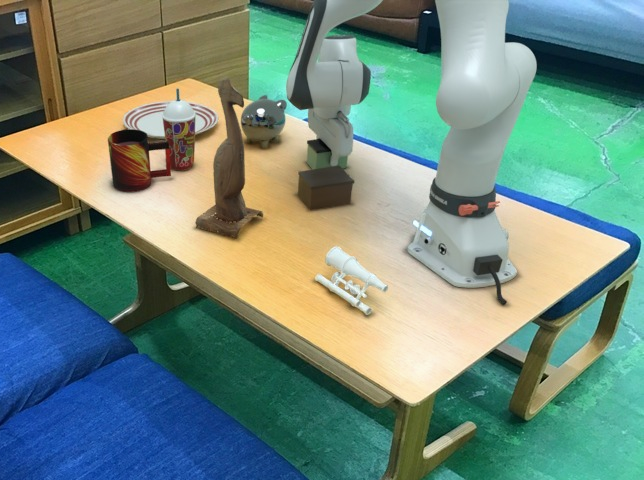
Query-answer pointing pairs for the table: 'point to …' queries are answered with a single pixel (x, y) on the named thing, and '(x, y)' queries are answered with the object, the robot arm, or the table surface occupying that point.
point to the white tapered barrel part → (352, 268)
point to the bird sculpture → (228, 173)
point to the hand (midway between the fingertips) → (327, 158)
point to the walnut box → (325, 187)
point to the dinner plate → (152, 121)
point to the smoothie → (180, 133)
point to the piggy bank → (263, 120)
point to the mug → (134, 160)
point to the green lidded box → (321, 155)
